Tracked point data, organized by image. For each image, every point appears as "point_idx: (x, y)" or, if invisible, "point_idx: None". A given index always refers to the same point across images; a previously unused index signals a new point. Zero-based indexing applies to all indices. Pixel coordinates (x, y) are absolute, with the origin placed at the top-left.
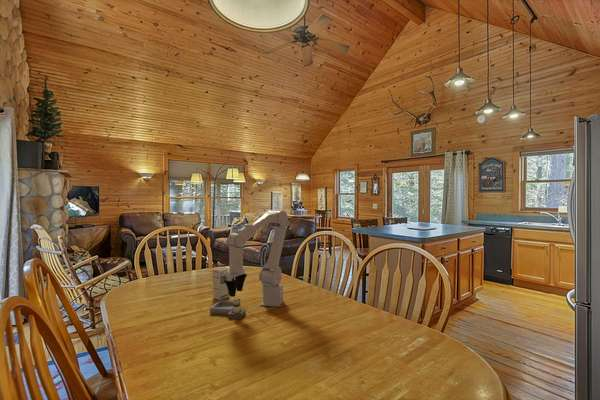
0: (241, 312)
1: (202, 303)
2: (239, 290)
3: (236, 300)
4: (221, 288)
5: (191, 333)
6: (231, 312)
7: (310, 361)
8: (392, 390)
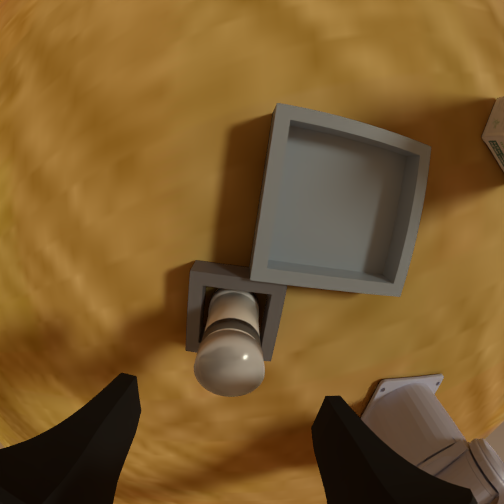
0: None
1: (429, 43)
2: (318, 419)
3: (210, 374)
4: None
5: (23, 139)
6: (222, 286)
7: None
8: None
